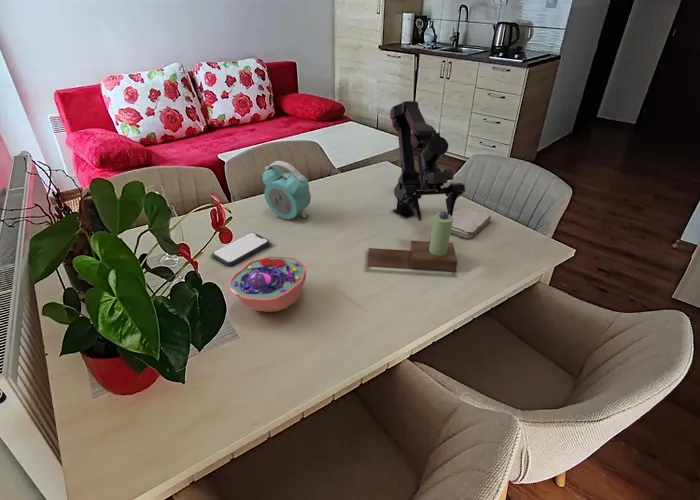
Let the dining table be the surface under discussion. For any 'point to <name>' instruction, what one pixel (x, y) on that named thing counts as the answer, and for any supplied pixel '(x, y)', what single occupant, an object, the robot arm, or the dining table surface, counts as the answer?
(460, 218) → the washcloth
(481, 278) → the dining table surface
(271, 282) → the cell model
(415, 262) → the spice riser
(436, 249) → the pepper mill
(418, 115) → the robot arm
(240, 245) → the smartphone
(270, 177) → the alarm clock
